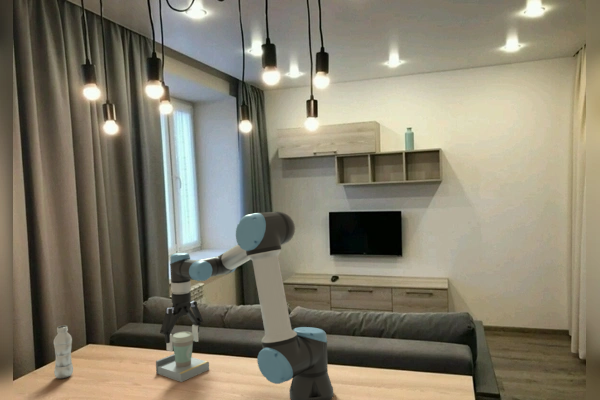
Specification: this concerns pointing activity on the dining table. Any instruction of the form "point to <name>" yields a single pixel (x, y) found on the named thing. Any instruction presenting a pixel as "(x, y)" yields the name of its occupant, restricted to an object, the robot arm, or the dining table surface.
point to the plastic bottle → (63, 353)
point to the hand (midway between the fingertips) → (183, 345)
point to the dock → (180, 368)
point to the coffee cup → (182, 348)
